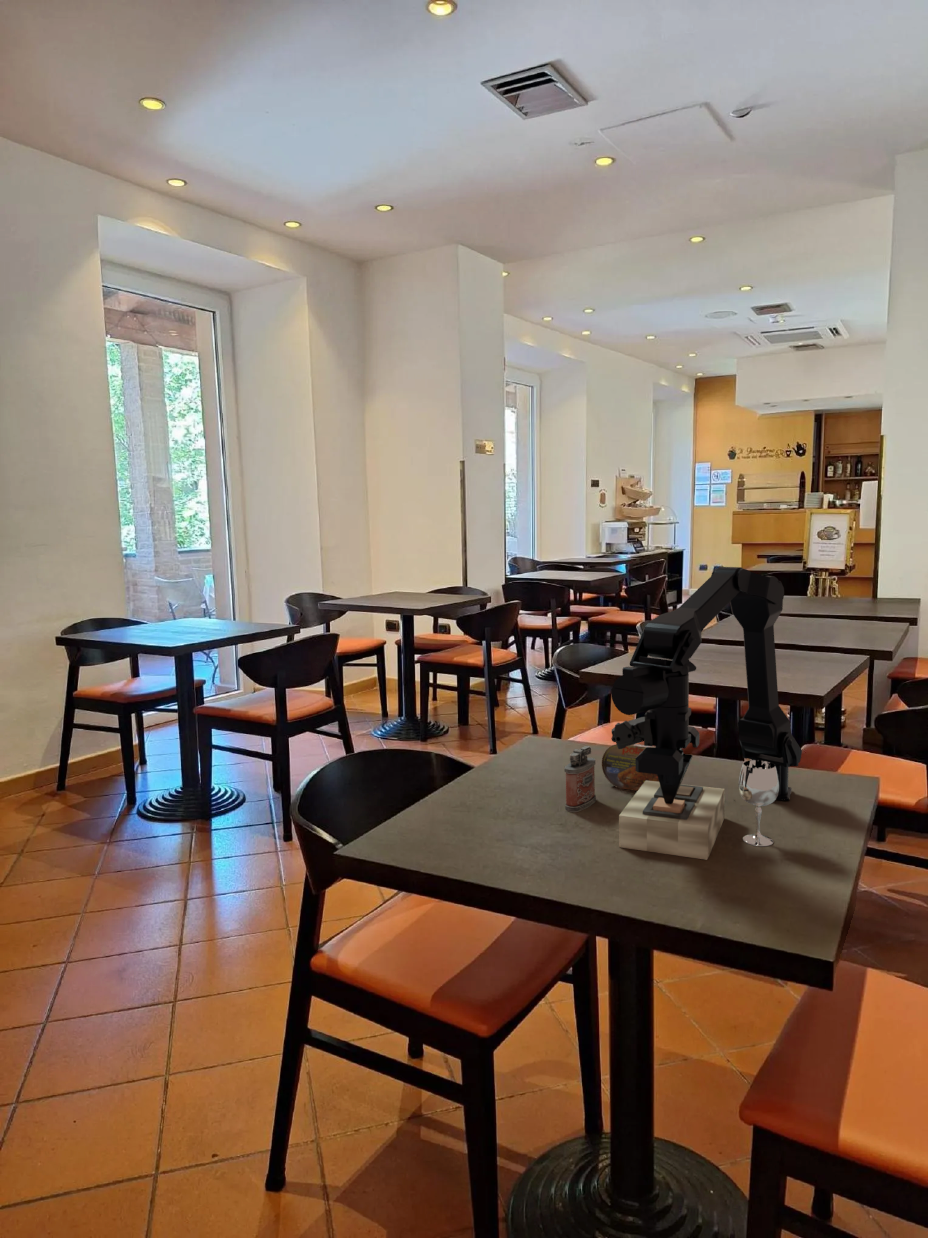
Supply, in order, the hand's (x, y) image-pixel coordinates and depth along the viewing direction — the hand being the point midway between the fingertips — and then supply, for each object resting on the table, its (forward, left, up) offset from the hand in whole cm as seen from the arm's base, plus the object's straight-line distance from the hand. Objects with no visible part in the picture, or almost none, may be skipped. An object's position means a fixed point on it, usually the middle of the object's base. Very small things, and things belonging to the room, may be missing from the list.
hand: (669, 803), depth 125 cm
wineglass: (-5, +13, -6) cm, 15 cm away
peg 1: (0, 0, -6) cm, 6 cm away
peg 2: (-8, 0, -6) cm, 10 cm away
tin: (-23, -9, -6) cm, 26 cm away
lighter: (-11, -17, -6) cm, 22 cm away
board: (-4, 0, -6) cm, 7 cm away
